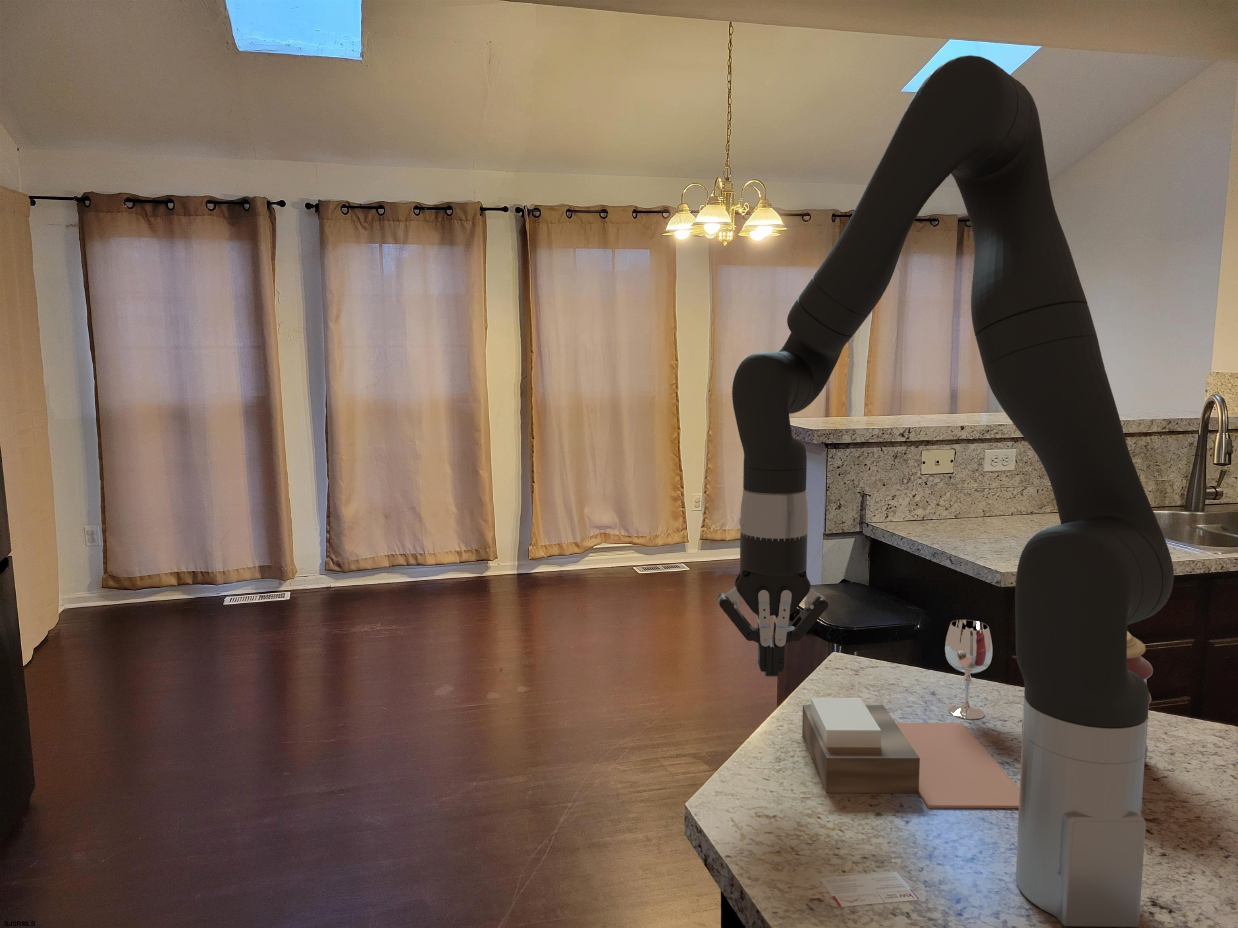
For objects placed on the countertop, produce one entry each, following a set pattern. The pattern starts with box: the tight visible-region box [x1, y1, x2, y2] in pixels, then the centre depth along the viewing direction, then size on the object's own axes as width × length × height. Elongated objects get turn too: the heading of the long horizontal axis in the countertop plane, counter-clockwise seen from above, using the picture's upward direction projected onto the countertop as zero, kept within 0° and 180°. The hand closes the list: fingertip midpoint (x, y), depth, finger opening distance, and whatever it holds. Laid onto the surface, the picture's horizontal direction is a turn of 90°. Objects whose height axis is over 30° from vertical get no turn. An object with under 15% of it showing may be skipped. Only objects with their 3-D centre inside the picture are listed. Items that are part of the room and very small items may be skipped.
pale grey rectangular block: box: [810, 697, 881, 747], centre depth 96 cm, size 9×6×2 cm, turn 178°
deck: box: [801, 704, 920, 794], centre depth 97 cm, size 14×10×4 cm
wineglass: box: [944, 619, 993, 720], centre depth 110 cm, size 6×6×12 cm
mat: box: [895, 722, 1020, 809], centre depth 97 cm, size 20×11×1 cm, turn 178°
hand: (771, 673), depth 96 cm, fingers closed
